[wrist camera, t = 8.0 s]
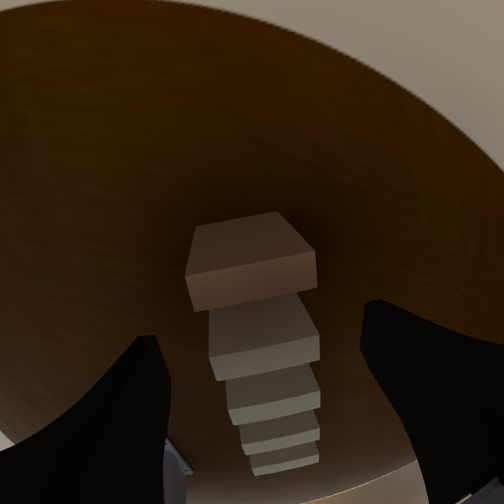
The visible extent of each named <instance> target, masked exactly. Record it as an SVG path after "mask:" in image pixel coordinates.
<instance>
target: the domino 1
mask: <svg viewBox="0 0 504 504" xmlns="http://www.w3.org/2000/svg"><path fill="white" fill-rule="evenodd" d="M185 279H186V283H187V286H188V290H189V293H190V297H191V300H192V304H193V307H194V311H195V312H197V311H203V310H208V309H214V308H219V307H225V306H230V305H236V304H241V303H246V302H251V301H256V300H261V299H266V298H271V297H276V296H281V295H285V294H290V293H295V292H299V291H304V290H308V289H313V288H317V272H316V258H315V250H314V249H313V248H312V247H311V246H310V245H309V244H308V243H307V242H306V241H305V240H304V239H303V238H302V236H301V235H300V234H299V233H298V232H297V231H296V230H295V229H294V228H293V227H292V226H291V225H290V224H289V223H288V222H287V221H286V220H285V218H284V217H283V216H282V215H281V214H280V213H279V212H278V211H276V212H271V213H265V214H259V215H254V216H248V217H243V218H237V219H232V220H227V221H222V222H216V223H211V224H206V225H201V226H196V228H195V232H194V237H193V241H192V245H191V250H190V254H189V258H188V263H187V268H186V272H185Z"/></svg>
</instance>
